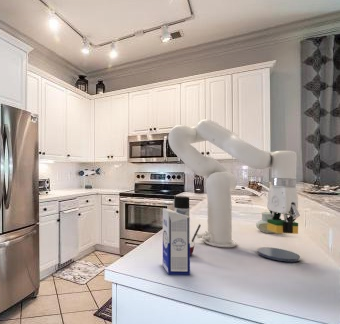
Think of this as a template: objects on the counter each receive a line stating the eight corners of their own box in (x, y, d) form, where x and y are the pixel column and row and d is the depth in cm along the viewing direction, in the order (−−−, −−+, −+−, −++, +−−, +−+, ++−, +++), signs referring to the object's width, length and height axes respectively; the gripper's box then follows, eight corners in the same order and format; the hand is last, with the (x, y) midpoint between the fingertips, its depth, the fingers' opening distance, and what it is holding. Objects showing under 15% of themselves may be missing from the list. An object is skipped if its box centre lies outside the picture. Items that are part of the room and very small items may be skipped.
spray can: (178, 236, 121) (178, 195, 121) (191, 239, 116) (191, 196, 116) (171, 239, 116) (171, 196, 116) (185, 242, 111) (185, 198, 112)
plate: (272, 263, 88) (272, 258, 88) (249, 250, 101) (249, 247, 101) (310, 263, 88) (310, 259, 88) (282, 251, 101) (282, 247, 101)
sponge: (276, 233, 93) (276, 222, 93) (267, 229, 98) (267, 219, 98) (298, 233, 93) (298, 223, 93) (287, 230, 98) (288, 219, 98)
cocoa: (171, 253, 97) (171, 222, 97) (177, 249, 102) (177, 220, 102) (196, 260, 91) (196, 226, 91) (202, 255, 95) (202, 224, 96)
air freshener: (254, 231, 132) (254, 212, 132) (258, 228, 138) (258, 210, 138) (279, 235, 124) (279, 215, 124) (283, 232, 130) (283, 213, 130)
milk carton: (162, 265, 85) (162, 207, 85) (182, 266, 85) (182, 207, 85) (168, 274, 78) (168, 210, 78) (190, 275, 78) (190, 210, 78)
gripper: (258, 181, 104) (257, 224, 104) (290, 184, 87) (289, 236, 87) (277, 181, 104) (275, 225, 104) (312, 185, 87) (311, 237, 87)
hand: (281, 230), depth 95 cm, fingers closed on sponge, 5 cm apart
